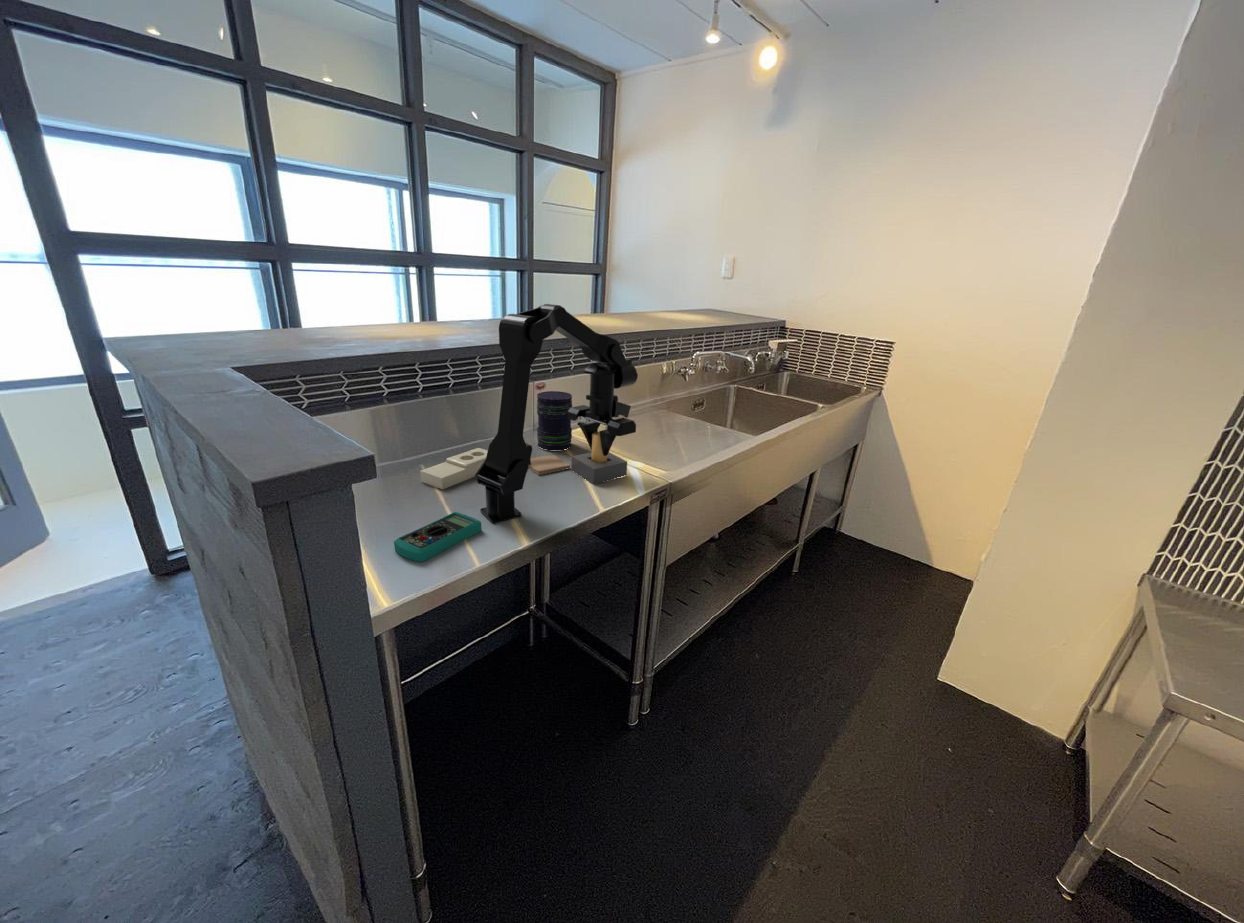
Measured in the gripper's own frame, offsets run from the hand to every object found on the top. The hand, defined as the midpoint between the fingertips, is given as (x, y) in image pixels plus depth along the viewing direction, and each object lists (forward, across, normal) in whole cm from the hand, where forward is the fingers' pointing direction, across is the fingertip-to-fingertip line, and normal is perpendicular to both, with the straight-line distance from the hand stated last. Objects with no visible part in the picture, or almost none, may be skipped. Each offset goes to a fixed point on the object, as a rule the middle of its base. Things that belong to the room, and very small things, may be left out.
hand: (599, 453), depth 125 cm
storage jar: (+6, +24, -4) cm, 25 cm away
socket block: (+6, 0, 0) cm, 6 cm away
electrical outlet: (+6, +21, +26) cm, 34 cm away
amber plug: (+5, 0, 0) cm, 5 cm away
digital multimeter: (+6, -5, +45) cm, 46 cm away
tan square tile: (+6, +12, +7) cm, 15 cm away
